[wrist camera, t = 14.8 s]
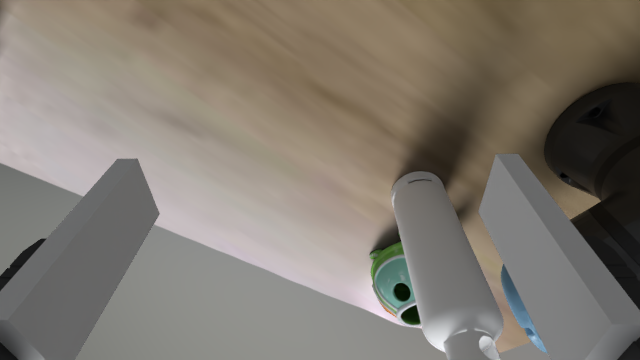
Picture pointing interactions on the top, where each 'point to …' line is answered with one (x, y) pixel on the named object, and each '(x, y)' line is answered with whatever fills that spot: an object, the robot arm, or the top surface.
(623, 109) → the robot arm
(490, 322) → the bottle
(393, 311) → the turtle holder
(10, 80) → the top surface
